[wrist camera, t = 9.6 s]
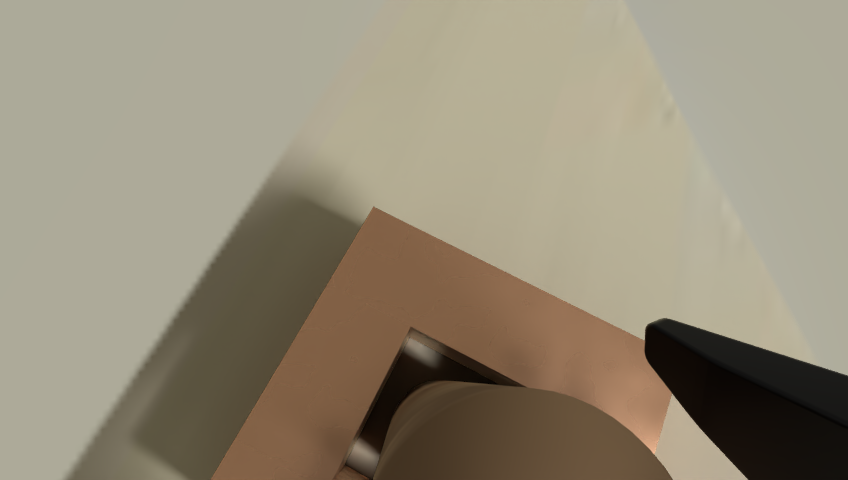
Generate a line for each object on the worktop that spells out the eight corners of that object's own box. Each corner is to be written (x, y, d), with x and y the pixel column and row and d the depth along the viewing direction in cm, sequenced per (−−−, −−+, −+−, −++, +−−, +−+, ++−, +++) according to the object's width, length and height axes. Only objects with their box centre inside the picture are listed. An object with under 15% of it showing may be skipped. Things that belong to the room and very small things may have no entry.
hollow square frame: (516, 683, 14) (556, 792, 11) (225, 507, 16) (168, 549, 12) (623, 362, 18) (682, 359, 14) (379, 240, 19) (373, 206, 15)
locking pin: (462, 508, 16) (654, 940, 4) (371, 456, 16) (274, 694, 4) (503, 408, 17) (751, 487, 5) (417, 362, 18) (449, 330, 5)
